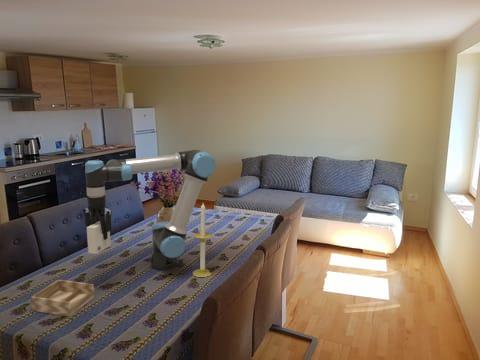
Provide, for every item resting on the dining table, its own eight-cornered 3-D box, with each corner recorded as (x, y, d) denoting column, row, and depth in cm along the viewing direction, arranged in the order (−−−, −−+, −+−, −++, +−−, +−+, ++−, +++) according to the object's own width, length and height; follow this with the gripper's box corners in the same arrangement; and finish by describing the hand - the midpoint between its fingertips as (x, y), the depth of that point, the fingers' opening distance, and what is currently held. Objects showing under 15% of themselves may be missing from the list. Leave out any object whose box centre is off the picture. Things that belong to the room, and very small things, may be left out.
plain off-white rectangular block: (111, 245, 172) (109, 220, 169) (97, 254, 161) (95, 228, 159) (103, 244, 173) (101, 219, 170) (88, 253, 162) (86, 227, 160)
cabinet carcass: (94, 296, 162) (93, 284, 160) (70, 316, 146) (68, 302, 145) (59, 291, 166) (58, 279, 164) (32, 310, 150) (30, 297, 149)
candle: (189, 275, 183) (189, 203, 176) (198, 267, 192) (198, 198, 185) (207, 279, 179) (208, 205, 172) (215, 271, 189) (216, 200, 182)
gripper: (118, 194, 164) (121, 244, 168) (84, 192, 167) (88, 240, 172) (108, 198, 156) (111, 250, 161) (73, 196, 160) (77, 246, 165)
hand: (99, 245), depth 167 cm, fingers closed on plain off-white rectangular block, 4 cm apart
